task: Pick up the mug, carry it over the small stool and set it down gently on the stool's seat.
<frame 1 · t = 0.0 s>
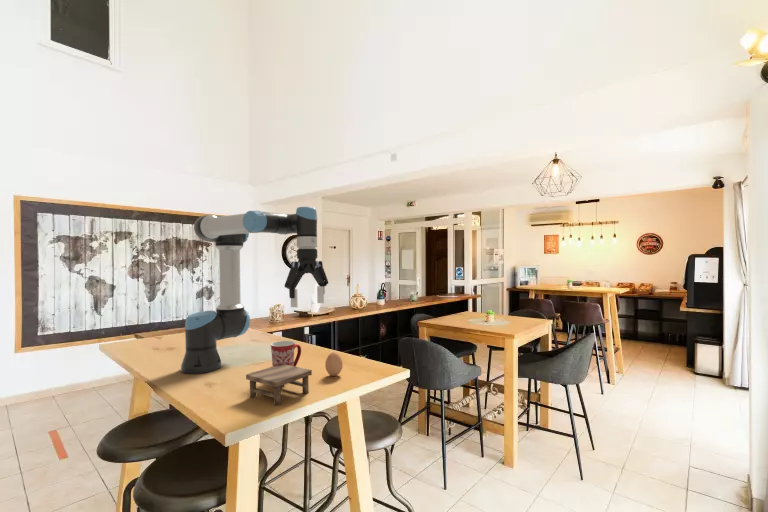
hand: (307, 305, 142), 28 cm above the table, fingers open, 13 cm apart
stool: (279, 394, 126), on the table
egg: (334, 376, 146), on the table
mug: (287, 378, 145), on the table
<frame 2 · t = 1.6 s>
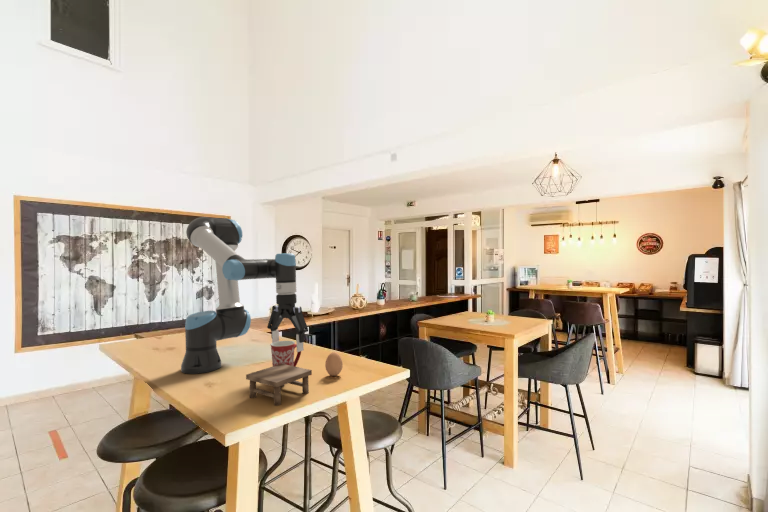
hand: (287, 349, 145), 11 cm above the table, fingers open, 13 cm apart
nothing on the table moved.
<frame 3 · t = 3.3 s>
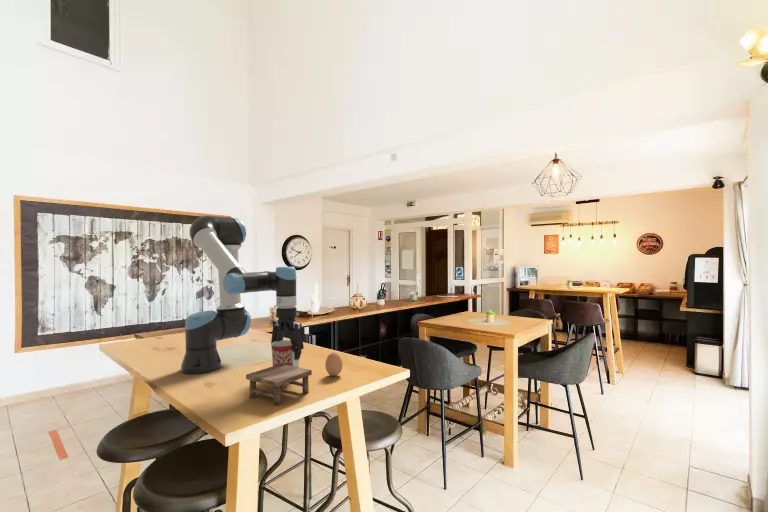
hand: (287, 366, 145), 4 cm above the table, fingers closed on mug, 8 cm apart
mug: (287, 377, 145), on the table, touching gripper
everything else where it was.
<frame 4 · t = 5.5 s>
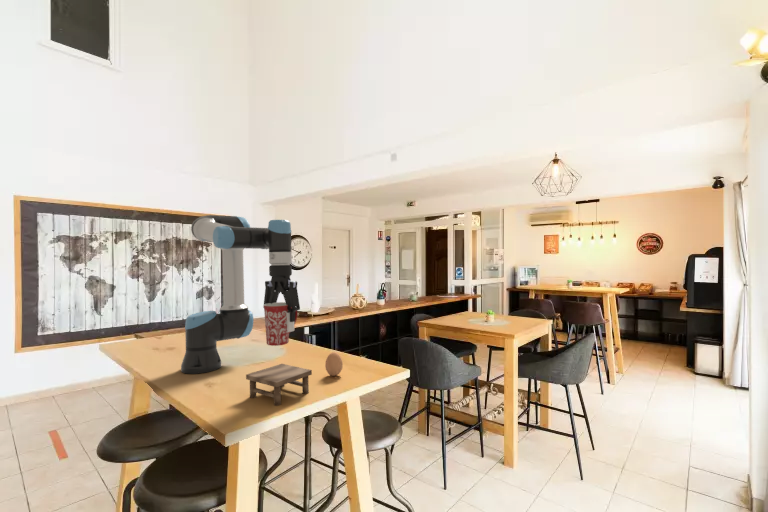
hand: (281, 330, 131), 21 cm above the table, fingers closed on mug, 8 cm apart
mug: (282, 343, 131), point 16 cm above the table, touching gripper
everything else where it was.
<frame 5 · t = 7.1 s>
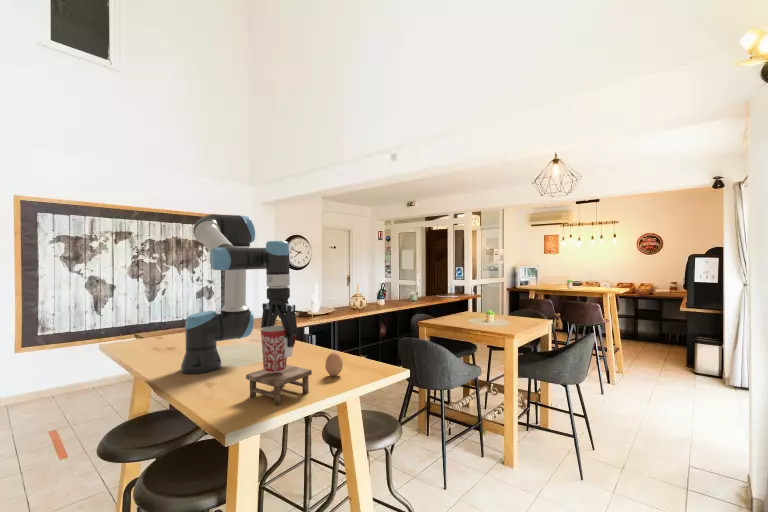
hand: (279, 354, 126), 13 cm above the table, fingers closed on mug, 8 cm apart
mug: (279, 368, 126), point 9 cm above the table, touching gripper
everything else where it was.
when the fingers open (13 cm above the table, at t = 8.1 s): mug moves 1 cm, resting on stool.
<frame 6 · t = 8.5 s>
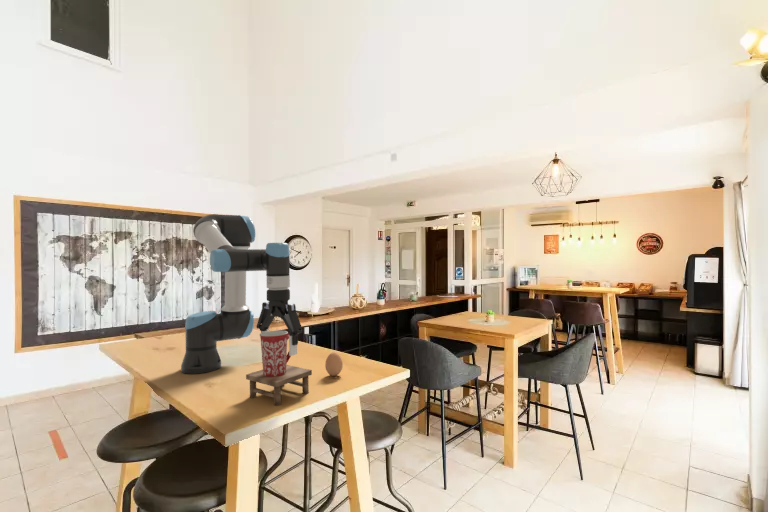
hand: (279, 352, 126), 14 cm above the table, fingers open, 13 cm apart
mug: (279, 372, 126), point 7 cm above the table, touching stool
everything else where it was.
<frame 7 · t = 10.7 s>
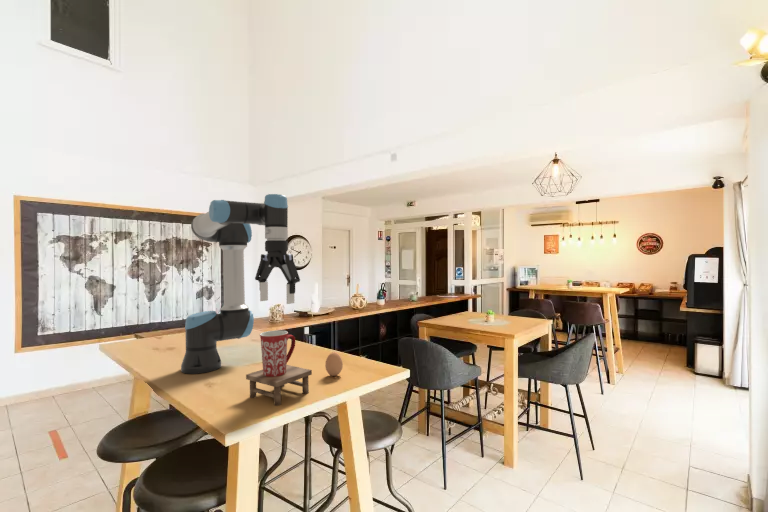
hand: (276, 302, 129), 31 cm above the table, fingers open, 13 cm apart
nothing on the table moved.
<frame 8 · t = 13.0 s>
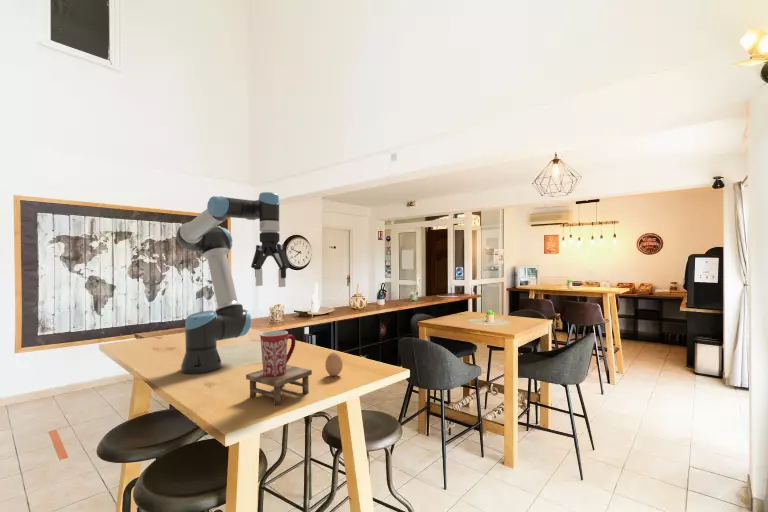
hand: (270, 286, 149), 35 cm above the table, fingers open, 13 cm apart
nothing on the table moved.
at the end: mug inside the target area on the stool (0.0 cm from its centre), point 7.3 cm above the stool's base; mug tilted 0°; the gripper is holding nothing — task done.
